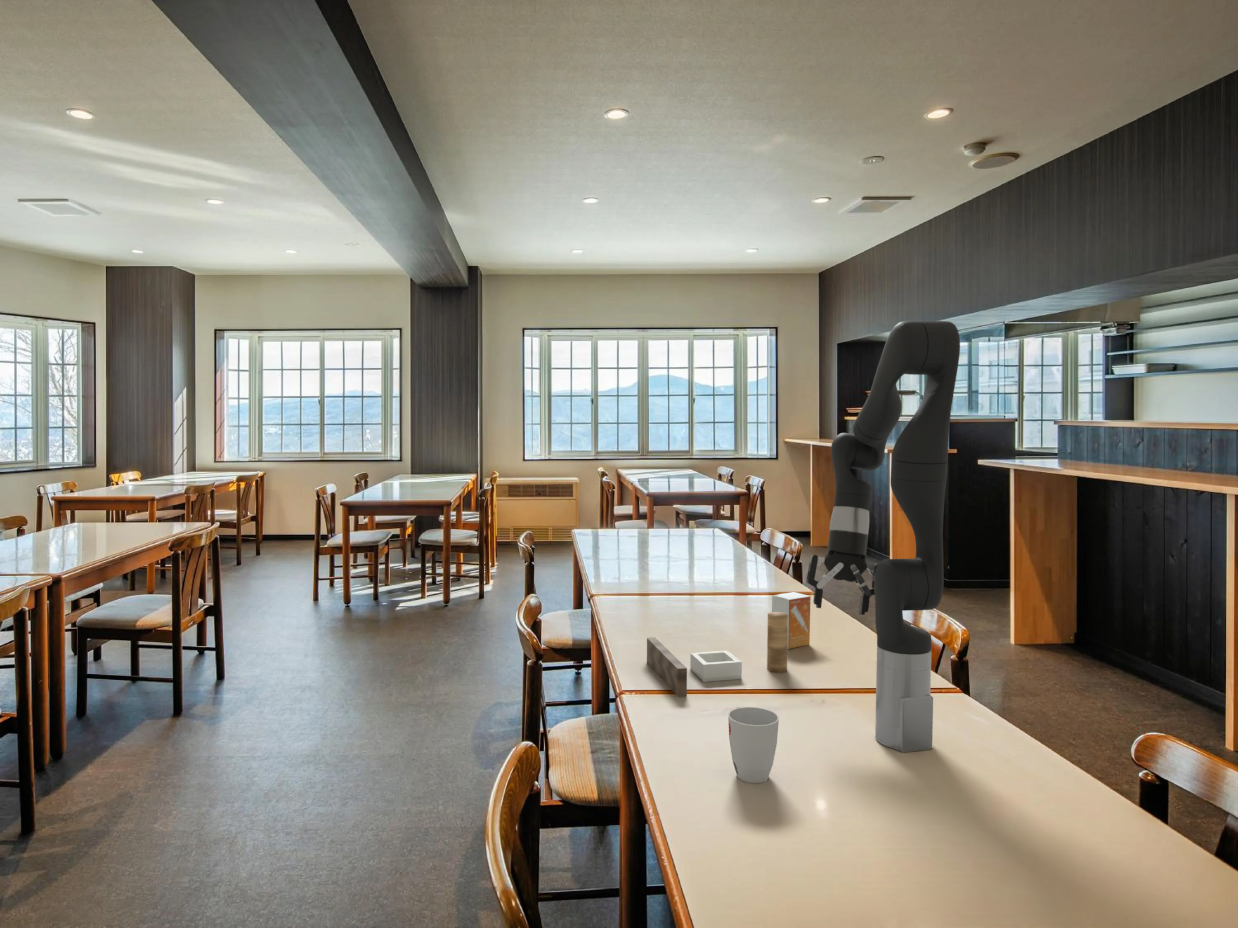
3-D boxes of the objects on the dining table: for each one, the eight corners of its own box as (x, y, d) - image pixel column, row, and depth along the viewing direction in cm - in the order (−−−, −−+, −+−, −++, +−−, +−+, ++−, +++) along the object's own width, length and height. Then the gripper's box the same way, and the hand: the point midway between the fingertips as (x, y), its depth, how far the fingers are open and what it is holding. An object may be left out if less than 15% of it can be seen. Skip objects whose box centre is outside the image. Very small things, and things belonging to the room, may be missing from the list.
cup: (743, 760, 132) (744, 703, 131) (786, 774, 126) (787, 714, 126) (718, 777, 125) (718, 716, 125) (762, 792, 120) (763, 729, 120)
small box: (788, 649, 197) (789, 599, 197) (770, 643, 203) (771, 594, 202) (810, 644, 202) (811, 595, 201) (792, 639, 207) (793, 591, 206)
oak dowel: (790, 676, 176) (791, 616, 175) (772, 678, 175) (772, 617, 174) (781, 670, 180) (782, 611, 180) (763, 672, 179) (764, 612, 178)
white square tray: (741, 678, 171) (741, 661, 171) (703, 681, 169) (703, 664, 168) (726, 666, 179) (726, 650, 179) (690, 669, 177) (690, 652, 177)
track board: (766, 694, 164) (766, 662, 164) (676, 702, 159) (676, 668, 159) (725, 661, 187) (725, 632, 187) (645, 666, 183) (645, 637, 182)
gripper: (816, 524, 154) (806, 606, 152) (889, 535, 152) (881, 617, 150) (810, 527, 161) (801, 605, 159) (880, 537, 160) (872, 615, 157)
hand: (840, 611), depth 155 cm, fingers open, 8 cm apart
